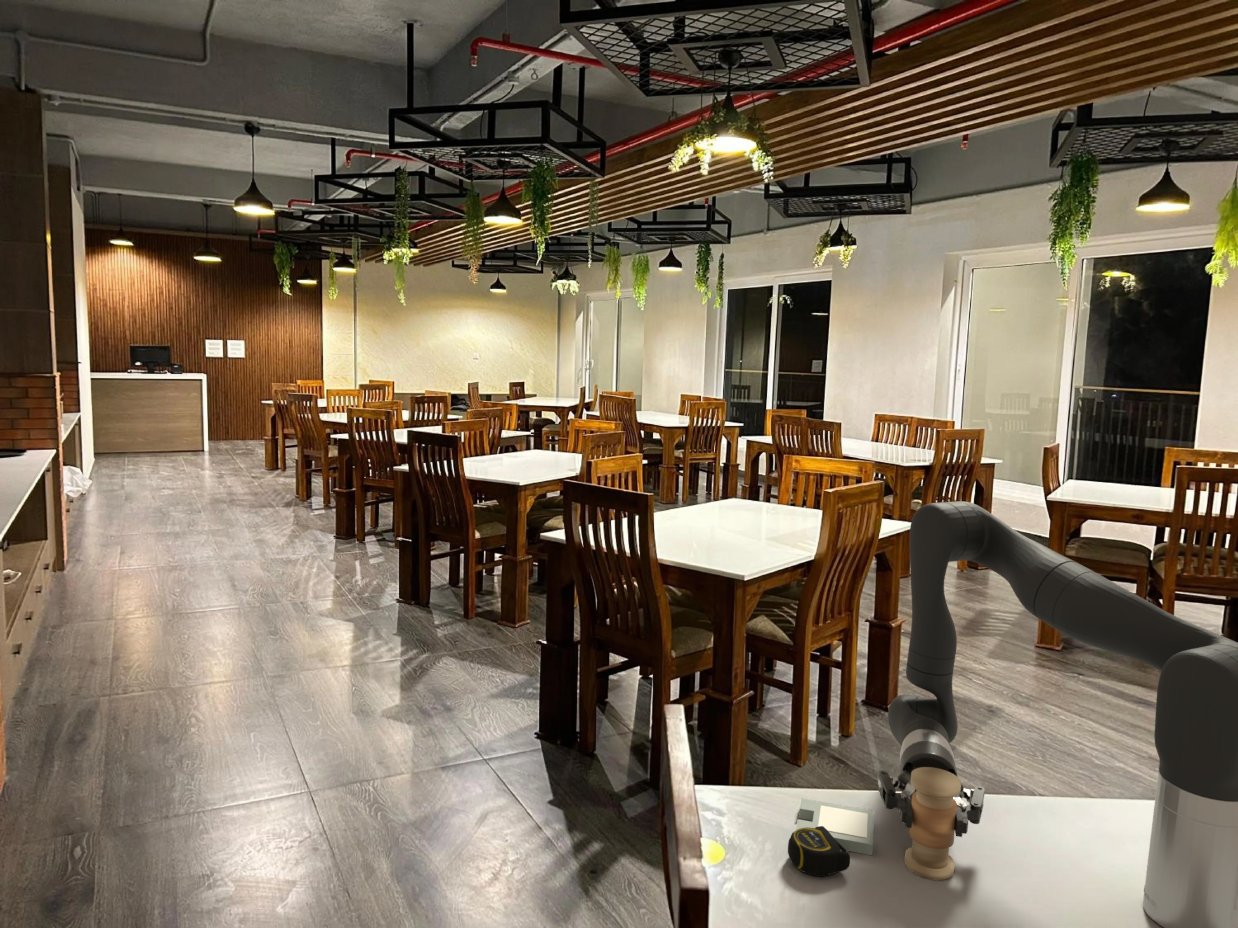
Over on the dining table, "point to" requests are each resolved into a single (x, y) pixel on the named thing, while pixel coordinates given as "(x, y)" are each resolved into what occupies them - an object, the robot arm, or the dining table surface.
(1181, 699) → the robot arm
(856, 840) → the plate
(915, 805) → the bobbin
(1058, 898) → the dining table surface
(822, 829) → the tape measure
